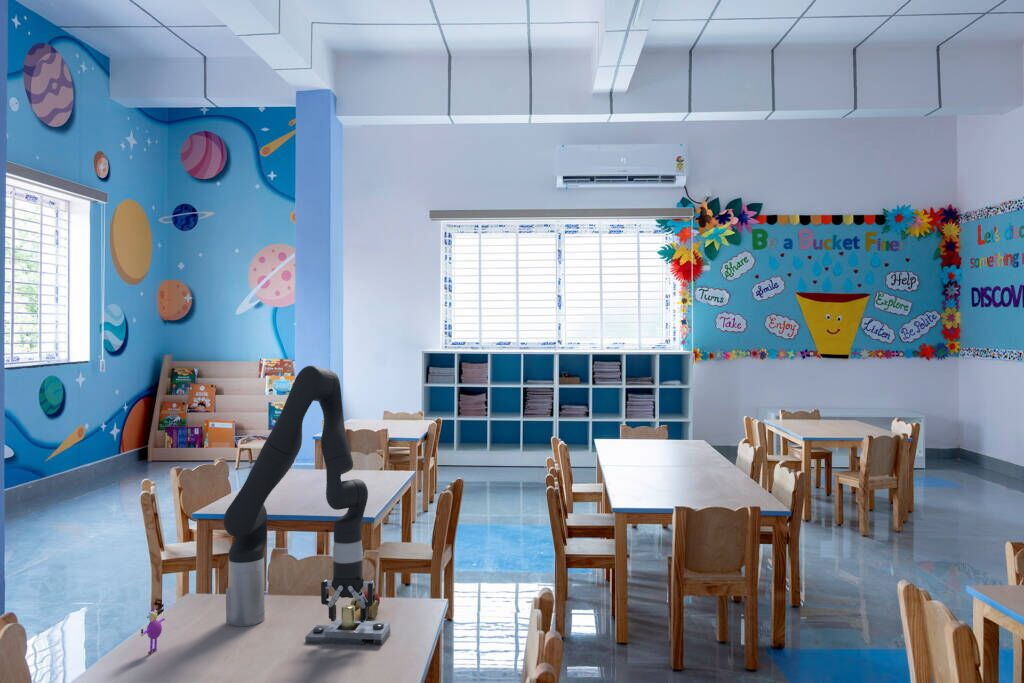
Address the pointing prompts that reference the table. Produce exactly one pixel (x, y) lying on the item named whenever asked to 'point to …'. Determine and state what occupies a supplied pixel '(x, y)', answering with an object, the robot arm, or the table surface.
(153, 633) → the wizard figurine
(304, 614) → the table surface
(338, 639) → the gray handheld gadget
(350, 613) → the brass pin
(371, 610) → the kendama
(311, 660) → the table surface
